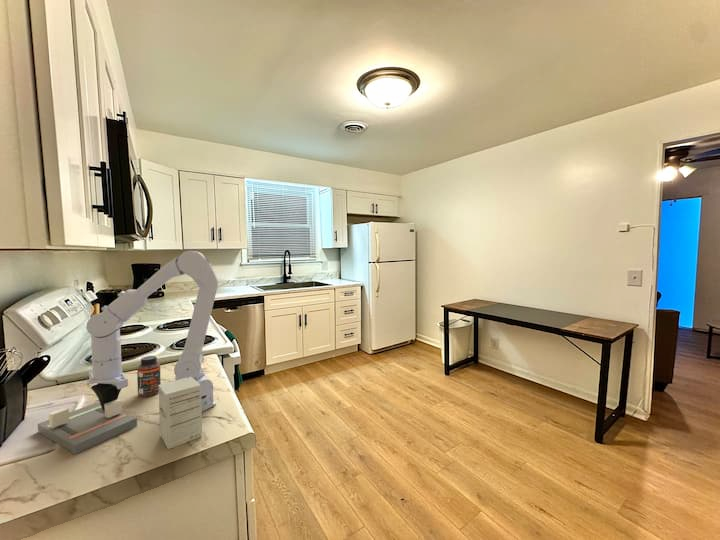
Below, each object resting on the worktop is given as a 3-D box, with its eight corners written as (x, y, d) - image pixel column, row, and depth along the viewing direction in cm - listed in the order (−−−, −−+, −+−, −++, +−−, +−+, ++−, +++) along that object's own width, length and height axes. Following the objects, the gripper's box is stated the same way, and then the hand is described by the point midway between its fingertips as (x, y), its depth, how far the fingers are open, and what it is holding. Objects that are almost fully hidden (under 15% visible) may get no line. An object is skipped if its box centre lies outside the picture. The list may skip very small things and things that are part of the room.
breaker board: (137, 425, 75) (136, 417, 75) (75, 454, 64) (74, 444, 64) (98, 409, 83) (98, 401, 83) (38, 431, 72) (37, 423, 72)
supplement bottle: (141, 399, 89) (140, 362, 88) (135, 394, 92) (133, 358, 92) (164, 392, 93) (163, 356, 93) (157, 387, 97) (155, 353, 97)
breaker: (69, 421, 72) (68, 408, 72) (52, 428, 70) (52, 414, 70) (66, 420, 73) (65, 407, 73) (49, 426, 70) (49, 413, 70)
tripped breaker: (122, 412, 77) (121, 400, 77) (108, 417, 74) (107, 405, 74) (118, 410, 77) (118, 398, 77) (104, 416, 75) (104, 404, 75)
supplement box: (159, 436, 70) (157, 384, 70) (193, 424, 76) (192, 375, 75) (166, 451, 65) (164, 394, 64) (203, 436, 70) (201, 384, 70)
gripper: (73, 359, 76) (75, 411, 76) (102, 368, 69) (105, 424, 70) (106, 351, 82) (108, 399, 83) (136, 358, 76) (138, 410, 76)
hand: (109, 410), depth 77 cm, fingers closed
